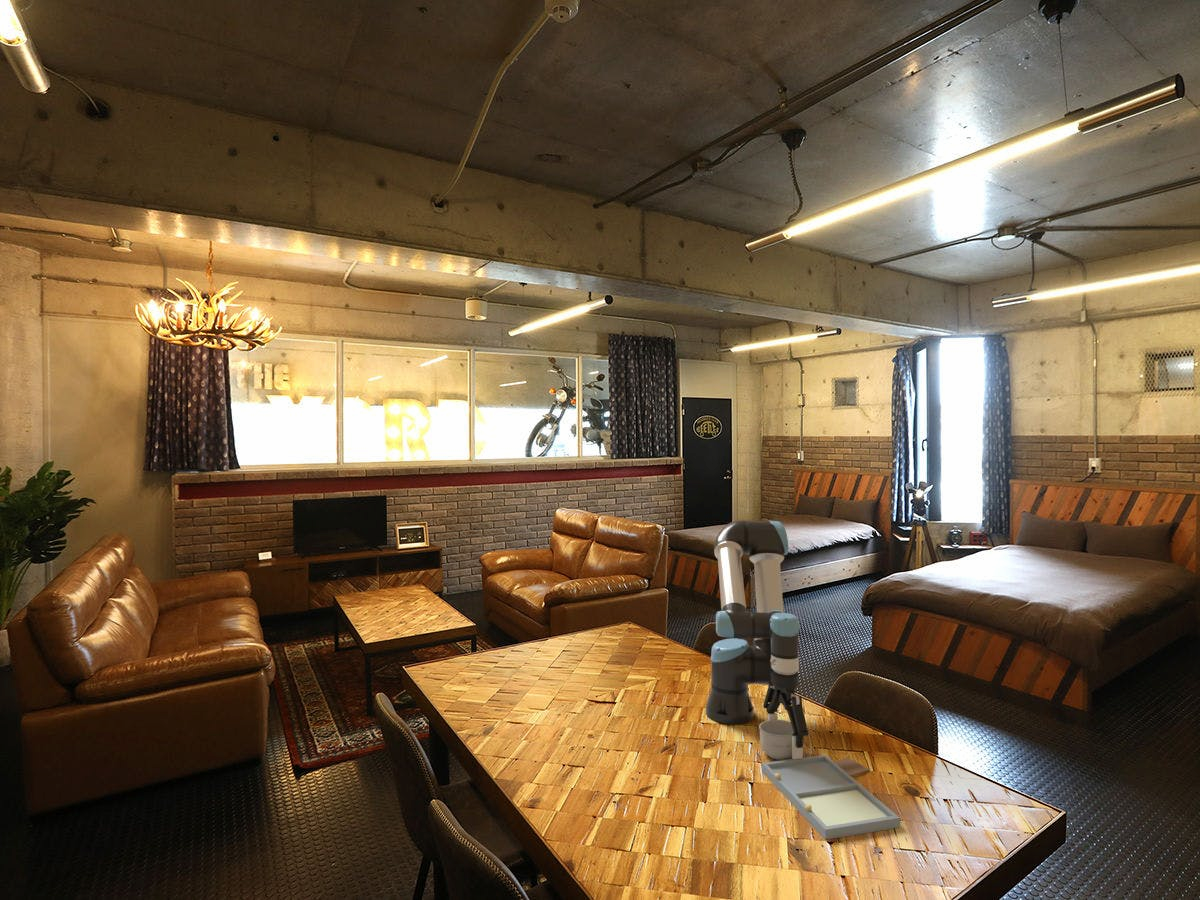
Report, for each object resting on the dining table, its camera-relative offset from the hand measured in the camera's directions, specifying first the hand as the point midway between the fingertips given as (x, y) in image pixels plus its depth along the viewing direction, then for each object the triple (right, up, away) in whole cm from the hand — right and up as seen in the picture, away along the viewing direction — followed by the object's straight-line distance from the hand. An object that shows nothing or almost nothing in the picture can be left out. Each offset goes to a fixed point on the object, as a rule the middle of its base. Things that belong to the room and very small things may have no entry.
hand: (784, 747), depth 172 cm
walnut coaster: (+15, -3, -7) cm, 17 cm away
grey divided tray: (+4, -2, -21) cm, 21 cm away
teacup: (0, -2, +1) cm, 3 cm away
